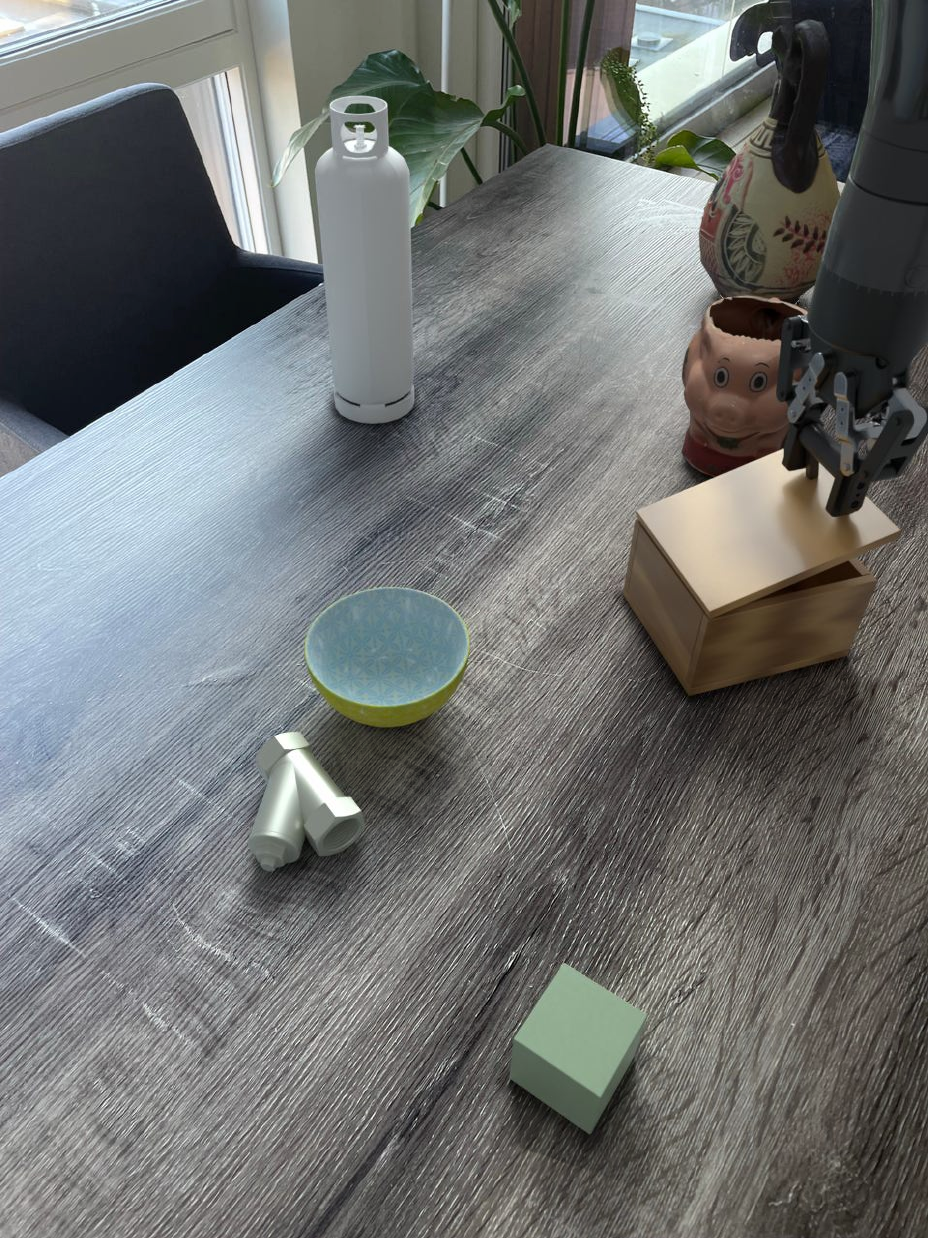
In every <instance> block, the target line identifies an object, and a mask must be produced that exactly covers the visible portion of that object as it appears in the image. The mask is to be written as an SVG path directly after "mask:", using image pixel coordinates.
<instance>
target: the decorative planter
mask: <svg viewBox="0 0 928 1238" xmlns="http://www.w3.org/2000/svg"><path fill="white" fill-rule="evenodd" d="M807 313H808V310H806V309H804V308H802V307H800V306H798V305H797V306H795V305H793V304H790V303H786V302H783V301H780V300H779V299H778V298H774V297H773V298H771V299H767V298H762V297H757V296H737V297H727V298H723V299H721V300H716V301H714V302H713V303H712V304H711V305H710V306H709V307H708V308H707V309H706V311H705V312H704V314H703V316H702V318H701V322H700V328H699V330H698V331H697V332H696V333H695V334H694V336H693V337H692V339H691V340H690V342H689V344H688V346H687V348H686V351H685V354H684V357H683V363H682V367H681V368H682V370H681V381H682V385H683V387H684V390H683V398H684V403H685V404H686V407H687V409H688V410H689V425H688V428H687V430H686V433H685V436H684V440H683V445H682V448H681V455H682V457H684V459H685V460H686V461H687V462H688V464H690V466H692V467H693V468H694V469H696V470H698V472H701V473H703V474H705V475H708V476H711V477H713V478H715V477H717V476H719V475H722V474H724V473H727V472H729V471H731V470H734V469H736V468H739V467H741V466H743V465H746V464H748V463H751V462H753V461H755V460H758V459H760V458H762V457H765V456H767V455H770V454H772V453H774V452H777V451H779V450H782V449H784V445H785V442H786V438H787V434H788V431H789V427H790V423H791V422H790V421H789V419H788V416H787V411H788V408H789V407H788V405H787V403H786V402H779V401H778V399H777V397H776V387H777V378H778V368H779V358H780V348H781V339H782V329H783V322H784V320H785V319H786V318H790V317H795V316H799V315H805V314H807ZM801 373H802V368H798V369H796V370H795V371H794V375H793V383H797V382H800V381H801Z"/></svg>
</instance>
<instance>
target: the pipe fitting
mask: <svg viewBox="0 0 928 1238" xmlns="http://www.w3.org/2000/svg"><path fill="white" fill-rule="evenodd" d="M254 760H255V764H256V767H257V770H258V772H259V774H260V776H261V777H262V780H264V782H265V783H266V787H265V789H264V793H263V796H262V799H261V802H260V804H259V807H258V810H257V813H256V815H255V819H254V822H253V826H252V827H251V830H250V833H249V837H248V840H247V848H248V849H249V851H250V852H251V853H252V854H254V855H255V858H256V860H257V862H258V863H259V864H260V868H261V869H262V870H263V871H266V872H274V871H276V869H277V868H281V867H284V866H286V864H291V863H294V862H297V861H298V859H299V858H300V856H301V853H302V849H303V845H304V842H305V838H307V841H308V843H309V844H310V846H311V847H312V849H313V850H314V851H315V853H316V855H318V857H328V856H333V855H337V854H339V853H341V852H343V851H345V850H346V849H348V848H349V847H350V846H352V845H353V844H354V843H355V842H356V841H357V840H358V839H359V837H360V836H361V834H363V831H364V830H365V828H366V823H365V818H364V815H363V811H362V810H361V808H360V807H359V806H358V804H357V803H356V802H355V801H354V800H353V798H352V797H351V796H346V795H345V794H344V792H343V791H342V790H341V789H340V787H339V786H338V785H337V784H336V782H335V781H334V780H333V779H332V777H331V776H330V775H329V773H328V772H327V771H326V769H325V768H324V767H323V766H322V764H321V763H320V762H319V760H318V759H317V758H316V757H315V755H314V753H313V750H312V748H311V745H310V743H309V742H308V741H307V739H306V738H305V737H304V735H303V734H302V733H301V732H300V731H291V732H290V731H289V732H284V733H279V734H277V735H274V736H273V737H271V738H270V739H269V740H268V741H267V742H266V743H265V744H264V745H263V746H262V747H261V748H260V749H259V751H258V752H257V754H256V755H255V757H254Z"/></svg>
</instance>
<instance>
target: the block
mask: <svg viewBox="0 0 928 1238" xmlns="http://www.w3.org/2000/svg"><path fill="white" fill-rule="evenodd" d="M647 1019H648V1014H646V1013H645V1012H643V1011H642V1010H640V1009H639V1008H637V1007H635V1006H634V1005H633V1004H631V1003H629V1002H627V1001H626V1000H624V999H622V998H621V997H619V996H618V995H616V994H615V993H613V992H611V991H610V990H608V989H607V988H605V987H604V986H602V985H600V984H599V983H597V982H595V981H594V980H593V979H590V978H589V977H588V976H586V975H585V974H583V973H582V972H580V971H578V970H576V969H575V968H573V967H572V966H570V965H568V964H567V963H565V962H563V963H562V965H561V966H560V967H559V969H558V971H557V972H556V974H555V975H554V977H553V978H552V980H551V981H550V983H549V984H548V986H547V987H546V989H545V991H544V992H543V994H542V995H541V996H540V998H539V999H538V1001H537V1003H536V1004H535V1006H534V1007H533V1008H532V1010H531V1011H530V1013H529V1015H528V1016H527V1018H526V1019H525V1021H524V1022H523V1024H522V1025H521V1027H520V1028H519V1030H518V1031H517V1033H516V1034H515V1036H514V1038H513V1044H512V1052H511V1060H510V1068H509V1069H510V1070H509V1076H508V1077H509V1079H510V1080H511V1081H513V1082H514V1083H515V1084H517V1085H518V1086H520V1087H521V1088H522V1089H524V1090H525V1091H527V1092H528V1093H530V1094H531V1095H533V1096H534V1097H535V1098H536V1099H538V1100H540V1101H541V1102H542V1103H544V1104H546V1106H548V1107H549V1108H550V1109H553V1110H554V1111H555V1112H557V1113H558V1114H560V1116H562V1117H564V1118H565V1119H567V1120H568V1121H570V1122H571V1123H573V1124H574V1125H575V1126H577V1127H578V1128H580V1129H581V1130H582V1131H584V1132H585V1133H586V1134H588V1135H592V1132H593V1131H594V1129H595V1127H596V1125H597V1124H598V1122H599V1120H600V1118H601V1116H602V1115H603V1113H604V1111H605V1110H606V1108H607V1106H608V1104H609V1102H610V1101H611V1099H612V1097H613V1095H614V1094H615V1092H616V1090H617V1088H618V1086H619V1085H620V1083H621V1081H622V1079H623V1077H624V1076H625V1074H626V1072H627V1070H628V1069H629V1067H630V1065H631V1064H632V1061H633V1060H634V1058H635V1055H636V1053H637V1050H638V1047H639V1045H640V1041H641V1038H642V1035H643V1032H644V1028H645V1027H646V1023H647Z"/></svg>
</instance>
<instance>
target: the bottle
mask: <svg viewBox="0 0 928 1238" xmlns="http://www.w3.org/2000/svg"><path fill="white" fill-rule="evenodd" d="M353 104H355V105H356V104H363V105H365V104H367V105H370V106H371V107H372V109H373V110H374V111H373V112H370V113H347V112H346V110H347V108H348V107H349V106H350V105H353ZM388 109H389V108H388V103H387V101H385V100H384V99H382V98H379V97H375V96H370V95H348V96H344V97H343V96H342V97H340V98H336V99H334V100H332V101H331V102H330V103H329V118H330V132H331V144H332V145H331V146H332V147H331V148H328V149H327V150H326V151H325V152H324V153H323V154H322V155H321V156H320V157H319V159H318V160H317V162H316V165H315V167H314V179H315V181H314V182H315V193H316V204H317V213H318V227H319V237H320V238H319V239H320V248H321V250H320V251H321V261H322V271H323V282H324V283H323V284H324V294H325V295H324V296H325V309H326V319H327V329H328V342H329V355H330V365H331V366H330V367H331V376H332V377H331V378H332V382H333V388H332V389H333V399H334V406H335V410H337V412H338V413H339V414H340V415H341V416H342V417H345V418H346V419H348V420H349V421H354V422H357V423H362V424H371V425H372V424H373V425H374V424H385V423H389V422H393V421H396V420H399V419H401V418H402V417H404V416H406V415H408V414H409V412H410V411H412V410H413V407H414V405H415V386H414V380H415V368H414V367H415V365H414V363H415V362H414V322H413V319H414V318H413V317H414V315H413V278H412V277H413V276H412V274H413V272H412V271H413V270H412V232H411V230H412V228H411V193H410V192H411V187H410V186H411V185H410V183H411V182H410V169H409V167H408V164H407V162H406V159H405V157H404V156H403V155H402V154H400V152H398V150H396V149H394V148H393V147H392V146H390V139H389V112H388V111H389V110H388ZM350 122H351V123H360V124H358V125H357V124H354V126H352V127H353V129H354V128H355V132H352V131H350V130H349V129H348V128H347V126H346V125H345V124H346V123H350ZM366 122H367V123H371V125H372V126H373V127H374V129H373V131H371V132H365V129H366V128H367V127H366V125H365V124H362V125H361V123H366ZM402 398H403V399H402ZM398 400H399V401H398ZM348 401H349V402H348ZM397 401H398V402H397ZM350 402H351V403H350ZM394 402H395V403H394ZM352 403H353V404H352ZM391 403H393V404H391ZM356 404H357V405H356Z"/></svg>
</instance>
